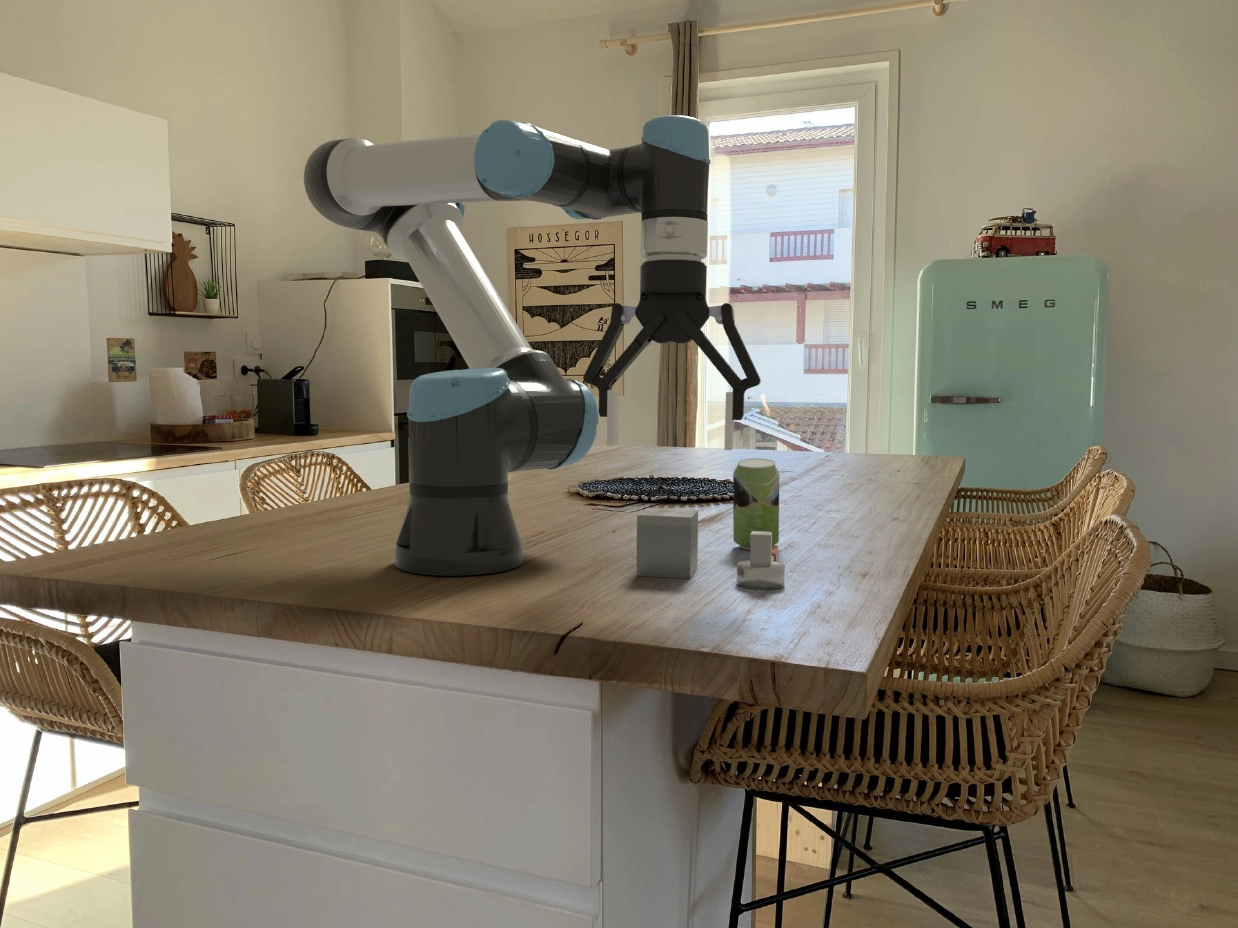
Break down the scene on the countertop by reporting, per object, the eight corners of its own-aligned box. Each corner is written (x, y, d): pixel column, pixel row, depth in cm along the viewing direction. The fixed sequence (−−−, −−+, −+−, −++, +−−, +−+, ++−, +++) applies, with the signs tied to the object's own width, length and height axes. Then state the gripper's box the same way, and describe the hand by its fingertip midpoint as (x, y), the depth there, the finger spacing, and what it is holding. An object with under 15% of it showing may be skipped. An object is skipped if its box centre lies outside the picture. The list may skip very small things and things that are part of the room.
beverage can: (777, 544, 127) (779, 457, 126) (780, 554, 120) (783, 462, 119) (731, 543, 128) (732, 456, 127) (732, 553, 121) (734, 461, 120)
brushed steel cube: (636, 575, 106) (637, 515, 105) (646, 565, 112) (646, 507, 111) (690, 578, 105) (691, 517, 104) (697, 568, 111) (698, 510, 110)
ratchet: (734, 587, 100) (735, 535, 100) (746, 558, 117) (747, 513, 116) (783, 590, 99) (784, 538, 99) (788, 560, 116) (789, 515, 115)
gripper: (558, 258, 104) (557, 446, 106) (784, 255, 99) (777, 453, 101) (575, 266, 111) (573, 442, 113) (785, 264, 106) (780, 448, 108)
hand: (669, 447), depth 107 cm, fingers open, 13 cm apart
